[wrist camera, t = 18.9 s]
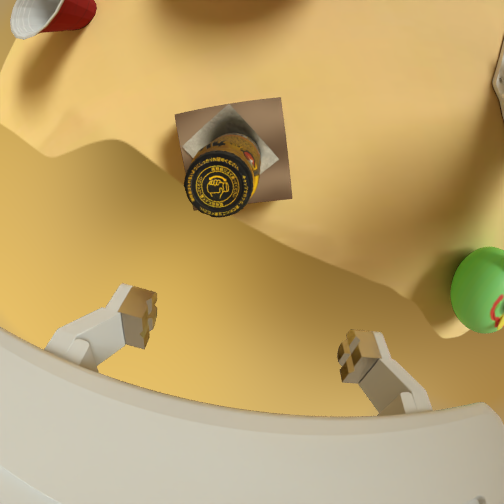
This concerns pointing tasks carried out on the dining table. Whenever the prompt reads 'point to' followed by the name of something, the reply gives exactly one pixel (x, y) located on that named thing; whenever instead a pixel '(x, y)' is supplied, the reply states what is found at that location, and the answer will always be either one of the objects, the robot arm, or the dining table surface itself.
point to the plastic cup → (50, 16)
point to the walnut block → (268, 129)
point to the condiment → (225, 164)
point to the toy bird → (480, 290)
